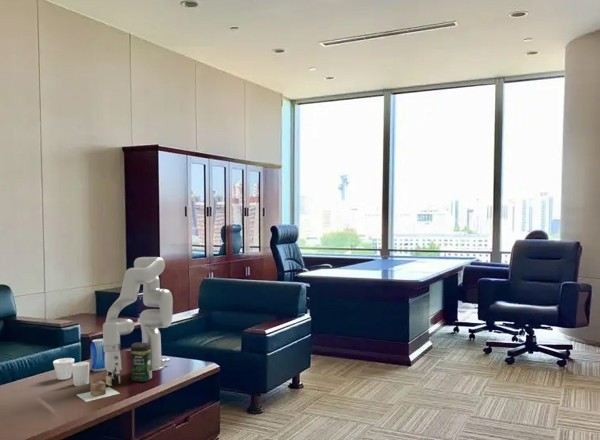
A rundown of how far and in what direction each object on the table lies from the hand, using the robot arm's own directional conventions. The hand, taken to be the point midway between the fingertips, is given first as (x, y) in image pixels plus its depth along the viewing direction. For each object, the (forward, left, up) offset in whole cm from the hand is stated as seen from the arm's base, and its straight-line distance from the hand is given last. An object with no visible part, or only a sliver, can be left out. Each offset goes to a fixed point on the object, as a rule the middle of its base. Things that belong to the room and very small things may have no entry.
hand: (113, 385), depth 251 cm
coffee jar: (-14, +1, -1) cm, 14 cm away
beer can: (-6, -35, -1) cm, 36 cm away
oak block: (0, 0, -1) cm, 1 cm away
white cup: (+10, -15, -1) cm, 18 cm away
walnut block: (+11, +11, +1) cm, 16 cm away
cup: (+13, -32, -1) cm, 35 cm away
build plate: (+11, +11, 0) cm, 16 cm away
